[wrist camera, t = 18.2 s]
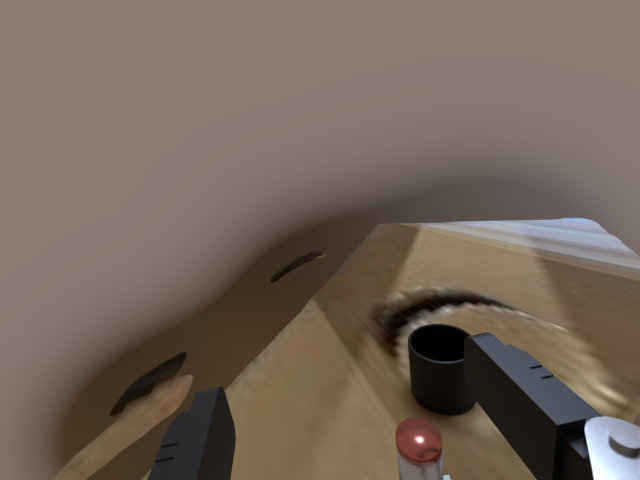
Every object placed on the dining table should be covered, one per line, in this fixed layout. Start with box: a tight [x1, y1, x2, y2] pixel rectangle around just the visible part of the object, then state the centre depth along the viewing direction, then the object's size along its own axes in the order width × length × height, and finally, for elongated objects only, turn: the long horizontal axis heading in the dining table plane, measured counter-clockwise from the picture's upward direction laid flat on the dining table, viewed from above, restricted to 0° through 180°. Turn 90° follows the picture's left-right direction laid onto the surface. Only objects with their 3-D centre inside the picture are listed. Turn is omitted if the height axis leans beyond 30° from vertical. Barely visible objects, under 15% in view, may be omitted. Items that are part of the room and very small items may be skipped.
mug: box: [408, 324, 476, 415], centre depth 50 cm, size 9×12×9 cm
